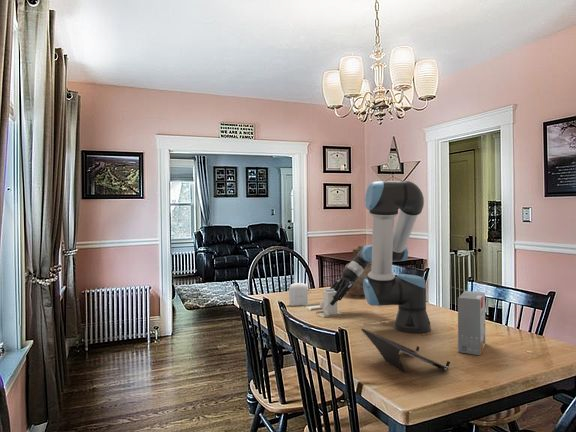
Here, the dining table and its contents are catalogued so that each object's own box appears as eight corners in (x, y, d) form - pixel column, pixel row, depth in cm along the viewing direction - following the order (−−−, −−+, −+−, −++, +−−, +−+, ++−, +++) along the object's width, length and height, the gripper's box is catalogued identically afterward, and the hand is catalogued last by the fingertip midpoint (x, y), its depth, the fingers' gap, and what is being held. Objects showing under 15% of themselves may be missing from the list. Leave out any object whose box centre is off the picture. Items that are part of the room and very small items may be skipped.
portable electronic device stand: (448, 393, 128) (458, 365, 129) (391, 371, 121) (402, 341, 122) (404, 367, 150) (413, 343, 151) (353, 347, 143) (363, 322, 144)
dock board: (346, 317, 197) (346, 313, 197) (323, 320, 193) (323, 316, 193) (323, 306, 221) (323, 302, 221) (303, 308, 217) (303, 304, 217)
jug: (351, 290, 263) (350, 244, 263) (382, 293, 251) (381, 245, 250) (335, 296, 246) (334, 247, 245) (368, 300, 233) (366, 248, 233)
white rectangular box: (337, 314, 198) (336, 289, 198) (328, 315, 196) (327, 290, 196) (333, 312, 203) (332, 288, 203) (323, 313, 201) (323, 288, 201)
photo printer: (307, 303, 229) (306, 281, 229) (308, 305, 225) (308, 283, 224) (289, 304, 227) (288, 282, 227) (290, 306, 223) (289, 284, 223)
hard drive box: (481, 356, 142) (480, 299, 142) (457, 352, 146) (456, 297, 146) (486, 343, 155) (485, 291, 155) (464, 340, 160) (463, 290, 159)
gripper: (366, 279, 196) (337, 317, 191) (348, 274, 213) (320, 309, 208) (356, 269, 194) (326, 307, 189) (339, 265, 211) (311, 300, 206)
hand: (323, 308), depth 198 cm, fingers closed on white rectangular box, 5 cm apart
